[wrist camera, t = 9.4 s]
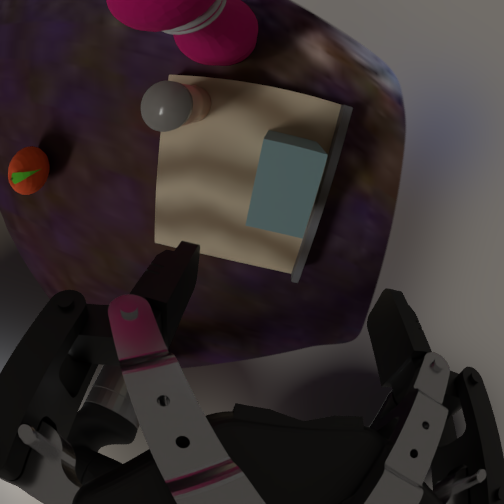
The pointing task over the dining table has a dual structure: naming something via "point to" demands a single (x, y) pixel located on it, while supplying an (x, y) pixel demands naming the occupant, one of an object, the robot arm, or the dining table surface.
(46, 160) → the clementine
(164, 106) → the spice jar
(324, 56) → the dining table surface
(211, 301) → the dining table surface
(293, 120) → the shelf board
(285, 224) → the tea box
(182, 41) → the pepper mill
